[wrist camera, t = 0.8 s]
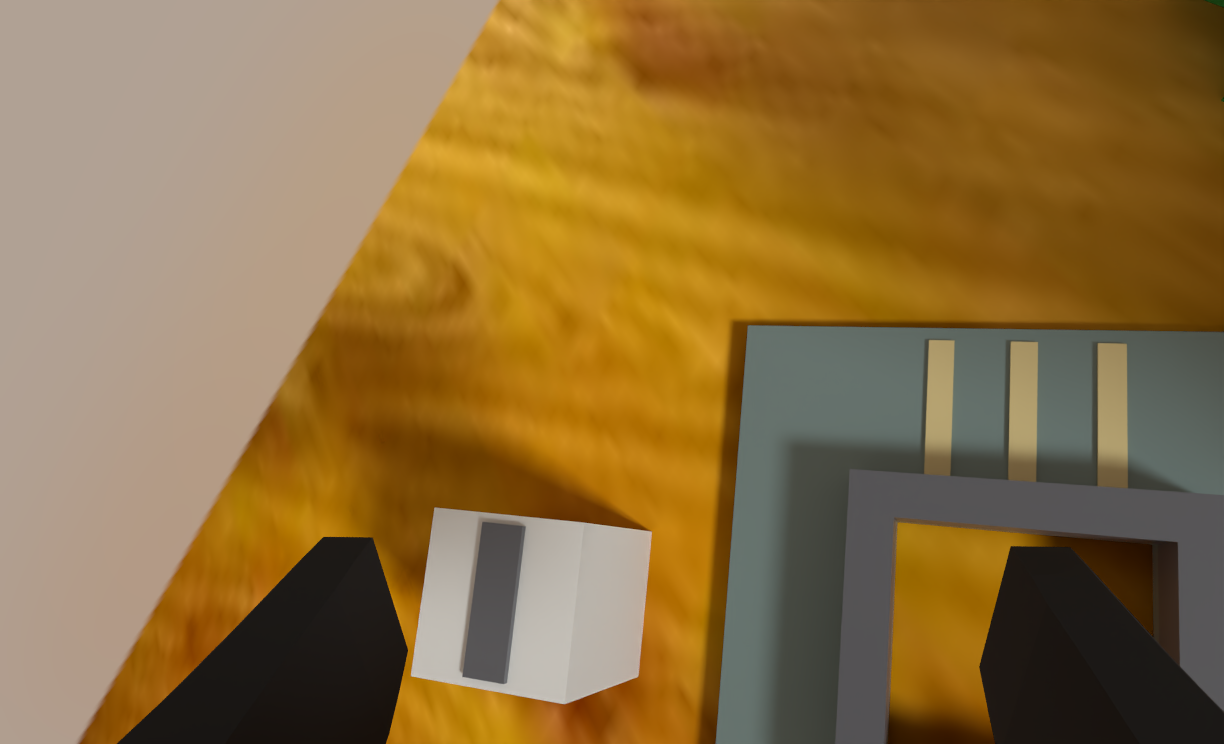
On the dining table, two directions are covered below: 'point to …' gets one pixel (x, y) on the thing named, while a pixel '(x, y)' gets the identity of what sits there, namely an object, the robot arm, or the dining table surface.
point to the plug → (531, 605)
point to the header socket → (953, 494)
